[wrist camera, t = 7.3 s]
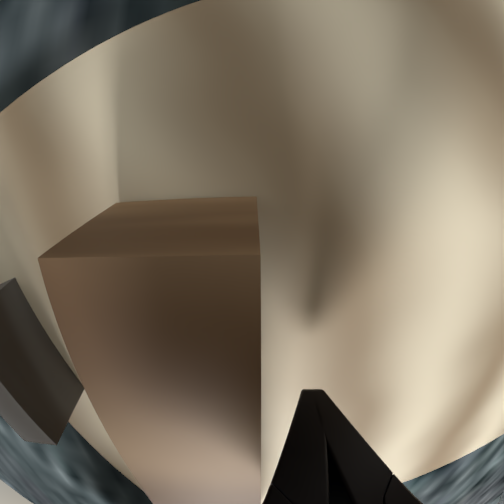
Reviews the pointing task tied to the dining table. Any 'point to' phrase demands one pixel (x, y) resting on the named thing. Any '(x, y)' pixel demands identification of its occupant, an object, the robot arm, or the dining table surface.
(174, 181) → the stool seat
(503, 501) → the serving bowl
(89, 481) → the dining table surface
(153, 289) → the stool leg
